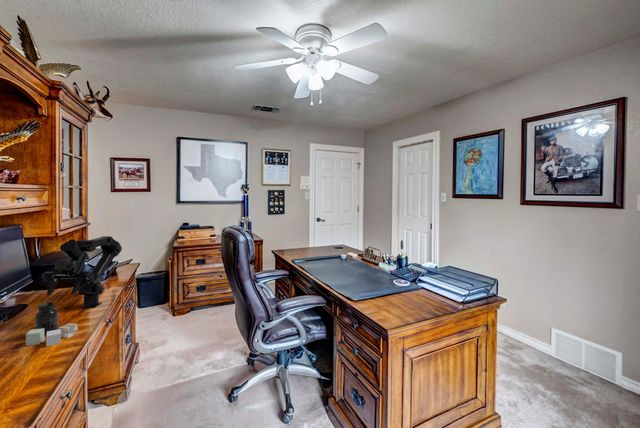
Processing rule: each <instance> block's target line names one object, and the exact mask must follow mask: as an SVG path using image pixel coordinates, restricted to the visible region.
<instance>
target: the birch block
mask: <svg viewBox="0 0 640 428" xmlns="http://www.w3.org/2000/svg"><path fill="white" fill-rule="evenodd" d="M58 329H61V338H65V339H69V338H71V337H73V336H75V335H77V334H78V323H69V322H68V323H66V324H64V325H62V326H58Z"/></svg>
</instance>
